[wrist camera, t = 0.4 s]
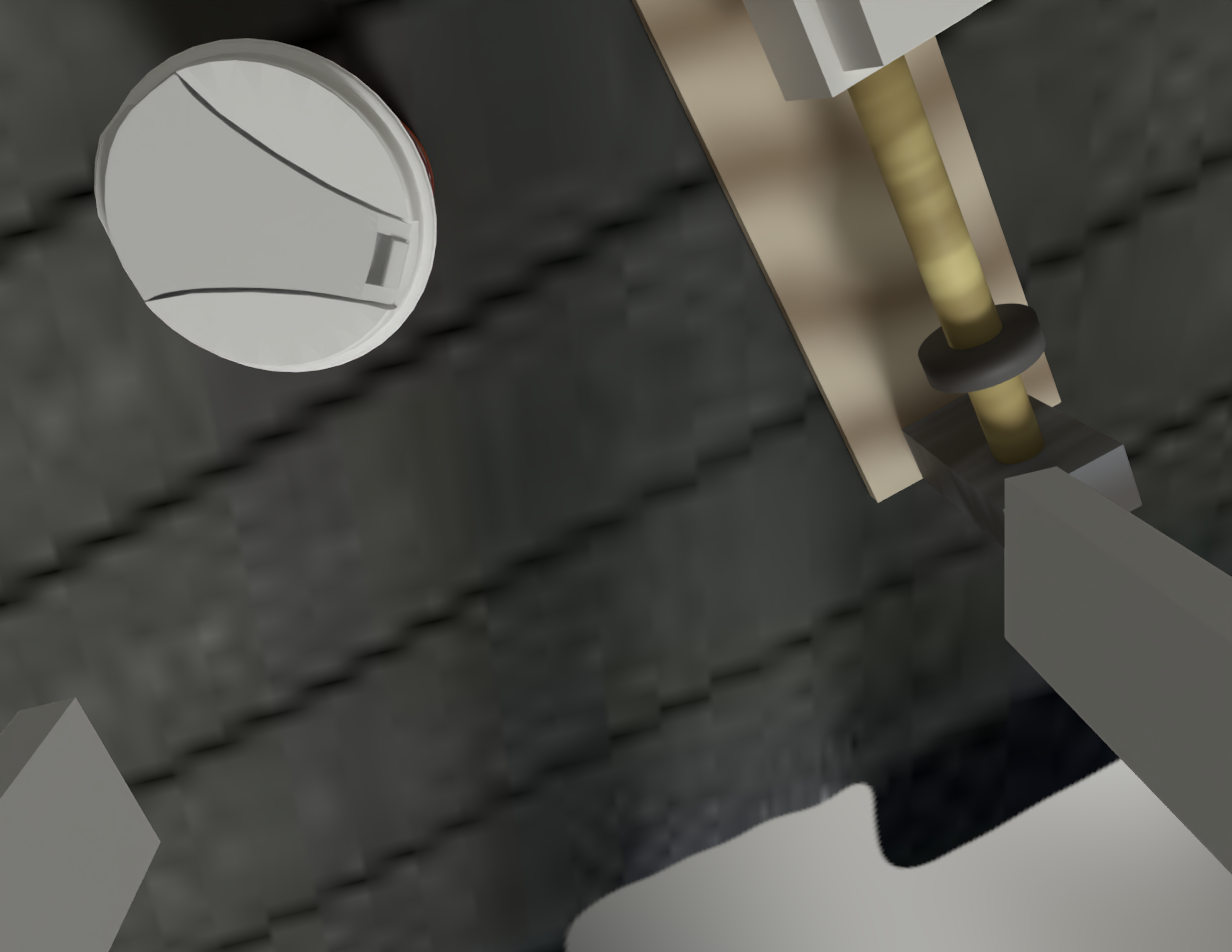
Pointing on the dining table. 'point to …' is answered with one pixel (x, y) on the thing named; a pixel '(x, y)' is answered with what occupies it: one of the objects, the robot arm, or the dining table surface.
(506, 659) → the dining table surface
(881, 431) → the cord rig
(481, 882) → the dining table surface
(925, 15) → the sleeve
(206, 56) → the coffee cup
